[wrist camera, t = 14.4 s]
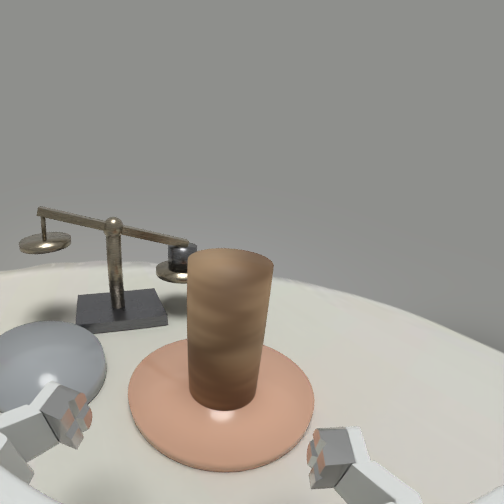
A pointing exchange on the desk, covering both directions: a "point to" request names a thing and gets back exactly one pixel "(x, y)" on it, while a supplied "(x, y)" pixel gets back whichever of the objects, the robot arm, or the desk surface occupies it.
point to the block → (226, 325)
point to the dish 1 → (48, 361)
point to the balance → (115, 273)
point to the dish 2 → (220, 413)
